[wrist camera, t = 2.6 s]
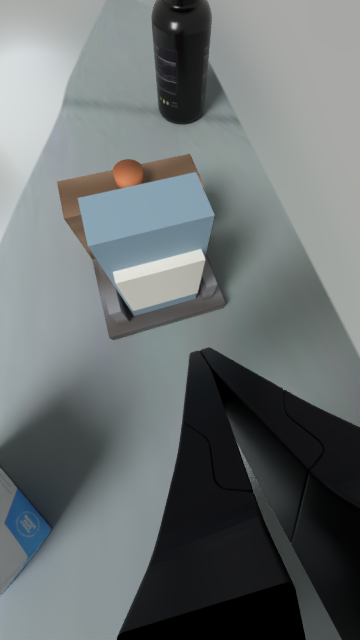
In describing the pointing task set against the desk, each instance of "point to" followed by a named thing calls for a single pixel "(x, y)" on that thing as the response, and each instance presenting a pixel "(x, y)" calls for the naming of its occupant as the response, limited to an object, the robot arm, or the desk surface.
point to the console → (112, 302)
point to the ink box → (17, 531)
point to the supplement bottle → (181, 57)
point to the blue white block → (151, 239)
